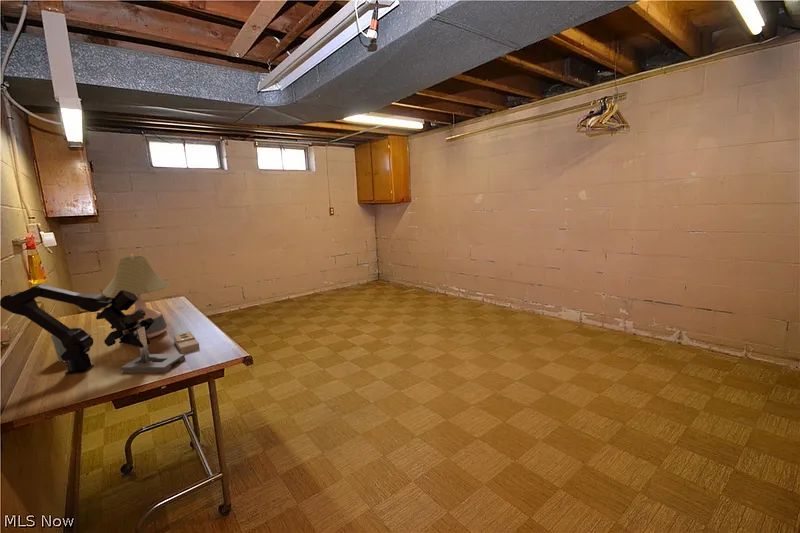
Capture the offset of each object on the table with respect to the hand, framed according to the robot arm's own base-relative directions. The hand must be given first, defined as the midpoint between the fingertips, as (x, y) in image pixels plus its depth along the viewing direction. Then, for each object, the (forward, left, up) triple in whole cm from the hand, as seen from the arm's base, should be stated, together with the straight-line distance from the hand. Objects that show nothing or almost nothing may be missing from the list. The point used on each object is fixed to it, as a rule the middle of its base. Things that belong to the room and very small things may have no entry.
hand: (146, 345), depth 143 cm
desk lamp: (-24, +37, -9) cm, 45 cm away
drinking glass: (-41, +14, -9) cm, 44 cm away
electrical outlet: (+5, +20, -9) cm, 23 cm away
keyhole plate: (+2, 0, -9) cm, 9 cm away
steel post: (-1, 0, -9) cm, 9 cm away
